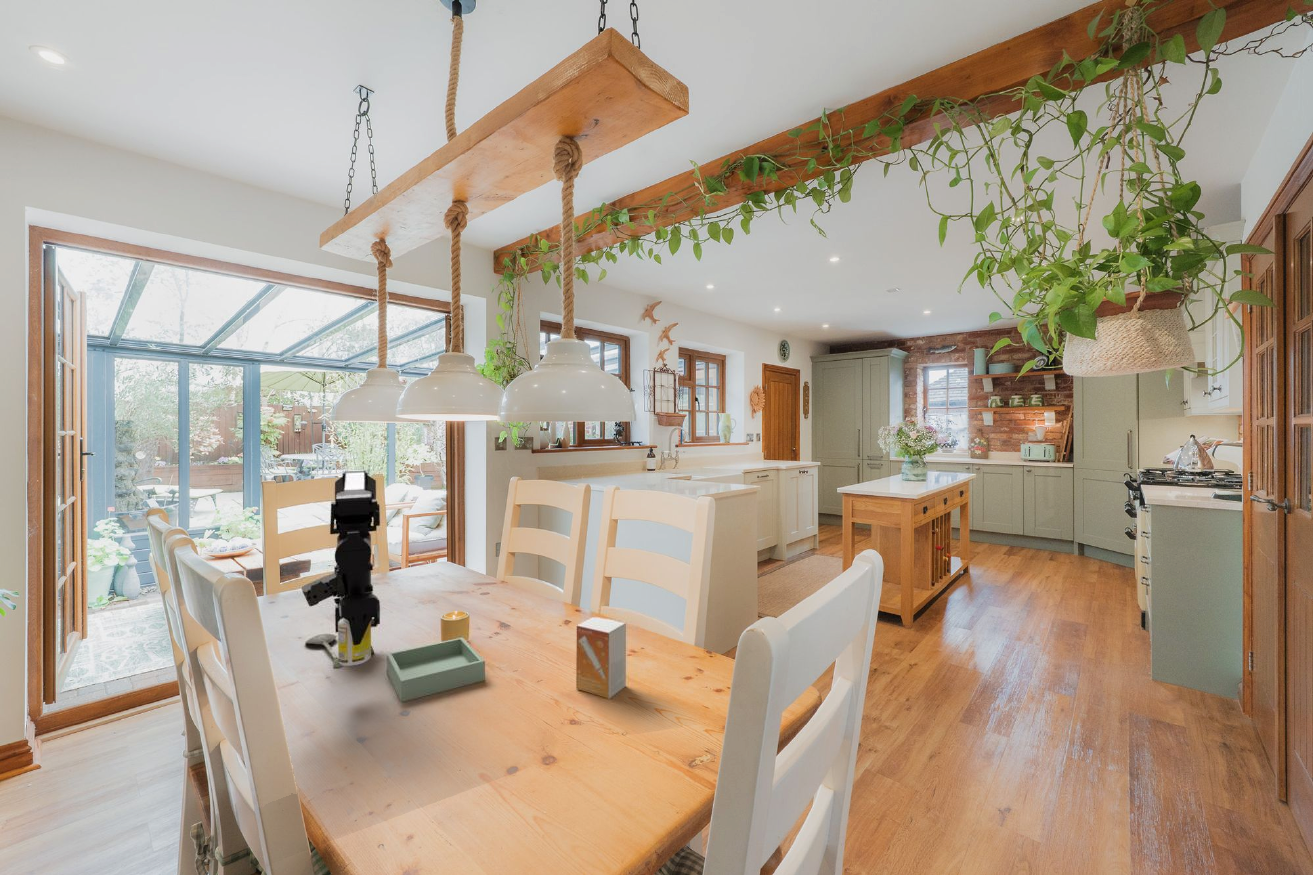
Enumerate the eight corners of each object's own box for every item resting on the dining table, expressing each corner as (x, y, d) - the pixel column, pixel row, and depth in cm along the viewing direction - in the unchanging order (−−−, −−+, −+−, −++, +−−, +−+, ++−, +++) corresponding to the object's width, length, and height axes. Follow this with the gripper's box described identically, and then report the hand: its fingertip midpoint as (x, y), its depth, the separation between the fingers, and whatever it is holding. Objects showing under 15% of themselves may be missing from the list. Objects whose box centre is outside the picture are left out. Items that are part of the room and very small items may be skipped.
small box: (575, 689, 109) (575, 624, 109) (594, 677, 115) (594, 615, 115) (609, 699, 105) (609, 632, 105) (626, 686, 111) (626, 622, 111)
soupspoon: (333, 640, 139) (303, 648, 134) (333, 626, 139) (302, 634, 134) (354, 664, 122) (320, 674, 118) (353, 649, 122) (319, 658, 118)
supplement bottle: (375, 654, 109) (375, 603, 109) (363, 666, 103) (363, 612, 103) (346, 655, 108) (346, 604, 108) (332, 667, 103) (332, 613, 103)
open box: (386, 671, 117) (386, 653, 117) (462, 654, 127) (462, 637, 127) (401, 701, 104) (401, 681, 104) (484, 680, 114) (484, 660, 113)
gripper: (302, 556, 109) (302, 634, 109) (307, 576, 93) (308, 667, 94) (365, 549, 115) (365, 622, 115) (379, 566, 100) (380, 651, 100)
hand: (354, 639), depth 106 cm, fingers closed on supplement bottle, 5 cm apart
